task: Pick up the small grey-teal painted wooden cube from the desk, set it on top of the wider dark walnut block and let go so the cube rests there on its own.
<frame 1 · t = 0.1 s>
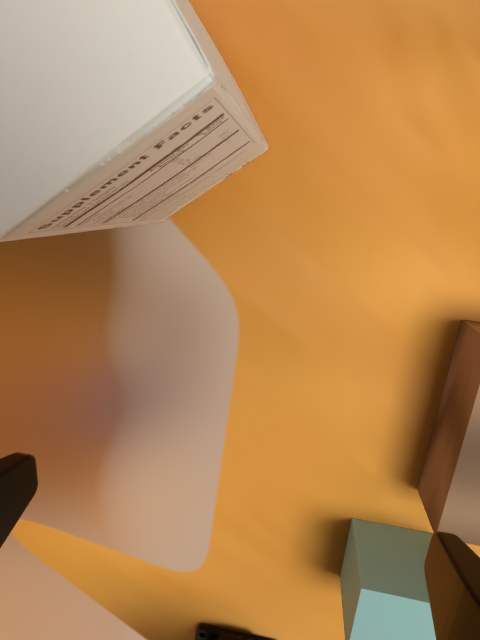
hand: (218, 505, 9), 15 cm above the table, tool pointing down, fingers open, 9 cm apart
supplement box: (179, 129, 21), on the table
teal cube: (384, 554, 26), on the table
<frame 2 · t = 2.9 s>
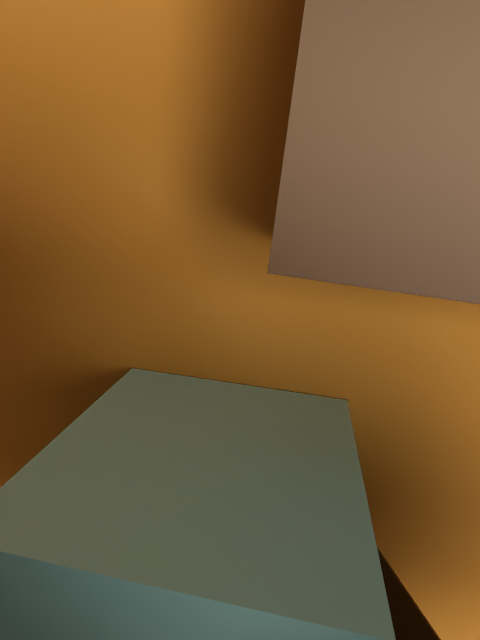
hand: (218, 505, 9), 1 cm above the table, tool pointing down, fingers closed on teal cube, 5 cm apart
teal cube: (227, 475, 10), on the table, touching gripper
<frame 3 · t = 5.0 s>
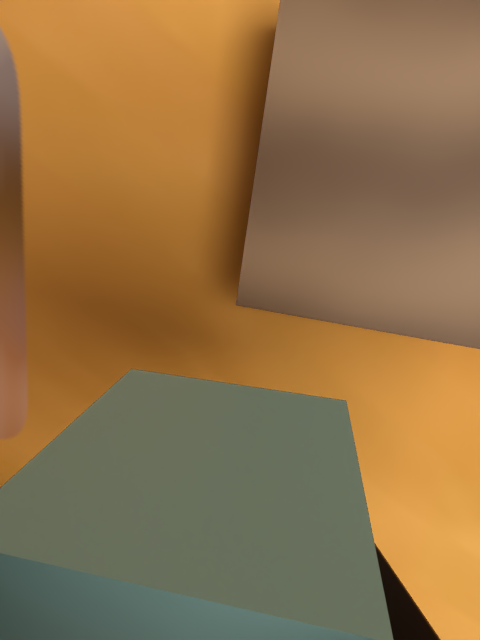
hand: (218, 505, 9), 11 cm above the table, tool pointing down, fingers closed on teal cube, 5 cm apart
walnut block: (378, 185, 17), on the table
teal cube: (227, 475, 10), point 10 cm above the table, touching gripper
when the fingers open (6 cm above the table, at t = 7.1 s): teal cube drops 2 cm, point 4 cm above the table.
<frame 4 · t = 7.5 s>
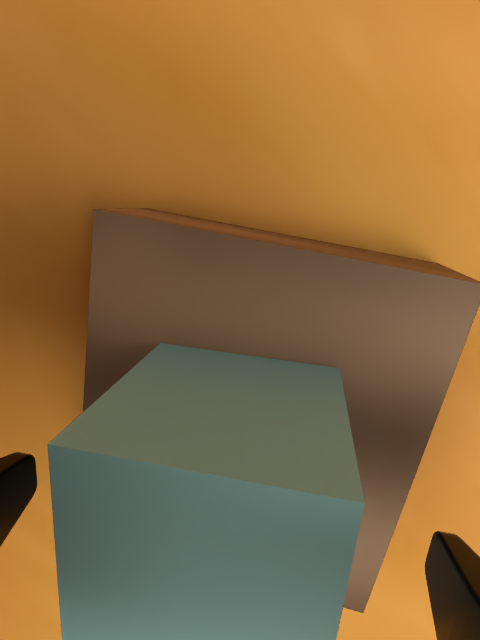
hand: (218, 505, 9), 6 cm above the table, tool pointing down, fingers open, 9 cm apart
walnut block: (258, 375, 15), on the table
teal cube: (239, 434, 11), point 4 cm above the table
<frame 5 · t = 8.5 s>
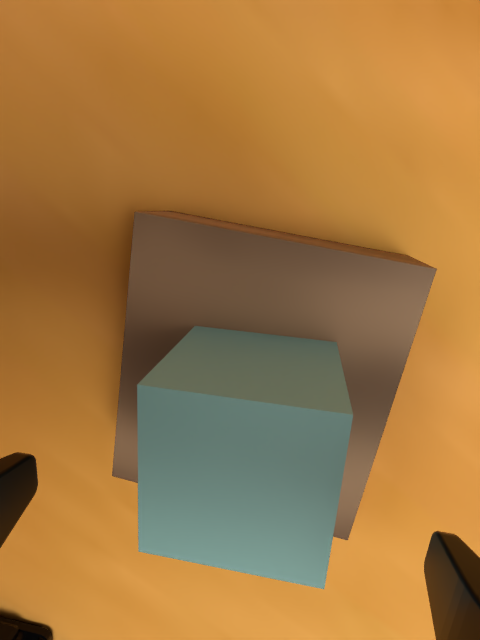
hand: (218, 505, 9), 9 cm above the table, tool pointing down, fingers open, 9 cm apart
walnut block: (261, 350, 18), on the table, touching teal cube
teal cube: (258, 397, 14), point 4 cm above the table, touching walnut block
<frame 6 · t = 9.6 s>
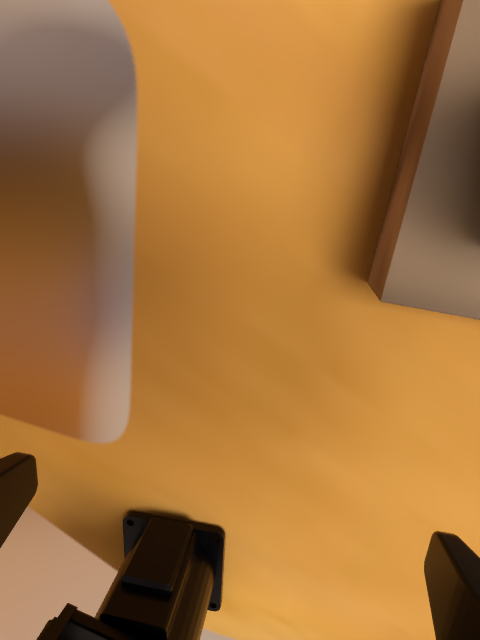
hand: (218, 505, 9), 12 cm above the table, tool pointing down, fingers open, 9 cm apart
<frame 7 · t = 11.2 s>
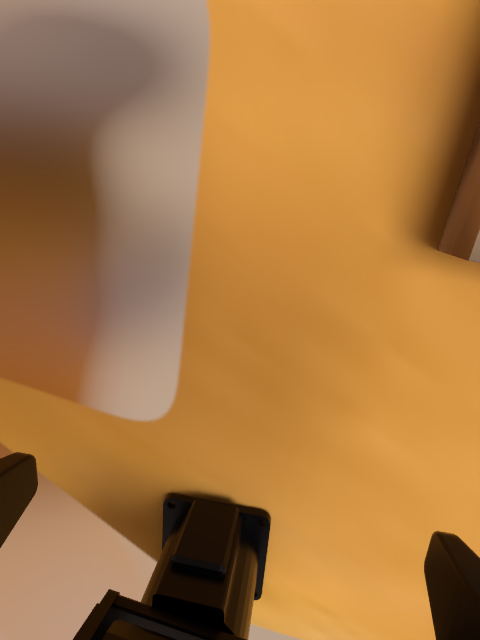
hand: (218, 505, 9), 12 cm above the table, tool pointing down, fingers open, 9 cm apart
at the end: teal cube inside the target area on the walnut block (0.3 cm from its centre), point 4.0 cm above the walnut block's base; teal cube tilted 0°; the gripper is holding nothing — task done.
